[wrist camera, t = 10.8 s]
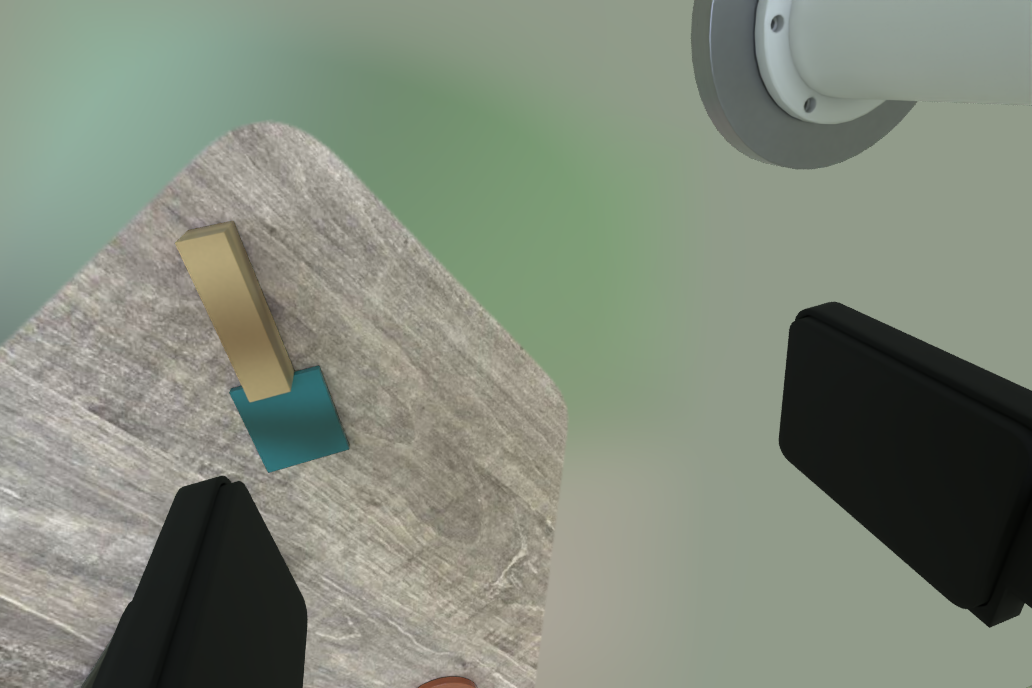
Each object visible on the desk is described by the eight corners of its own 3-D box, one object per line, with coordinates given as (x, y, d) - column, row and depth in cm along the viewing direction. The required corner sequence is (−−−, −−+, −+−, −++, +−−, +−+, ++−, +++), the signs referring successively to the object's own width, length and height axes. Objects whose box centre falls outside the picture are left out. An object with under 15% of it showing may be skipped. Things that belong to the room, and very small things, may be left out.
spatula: (157, 236, 27) (141, 249, 25) (262, 214, 28) (255, 225, 26) (268, 468, 34) (263, 493, 32) (349, 444, 35) (349, 468, 33)
